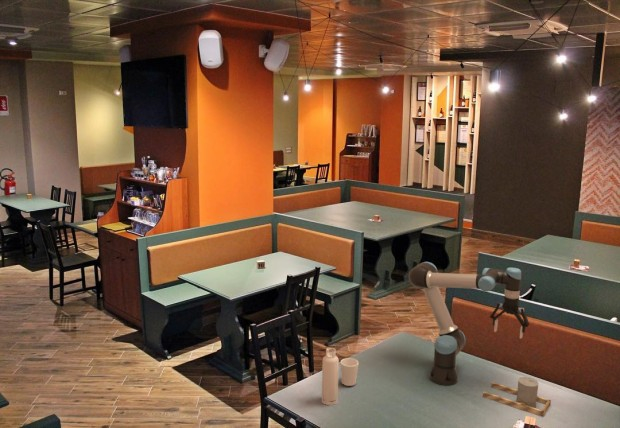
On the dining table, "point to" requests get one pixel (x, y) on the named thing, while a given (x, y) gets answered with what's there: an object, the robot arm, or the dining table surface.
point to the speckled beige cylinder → (527, 391)
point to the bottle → (330, 377)
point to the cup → (349, 371)
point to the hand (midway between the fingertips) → (508, 334)
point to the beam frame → (516, 404)
